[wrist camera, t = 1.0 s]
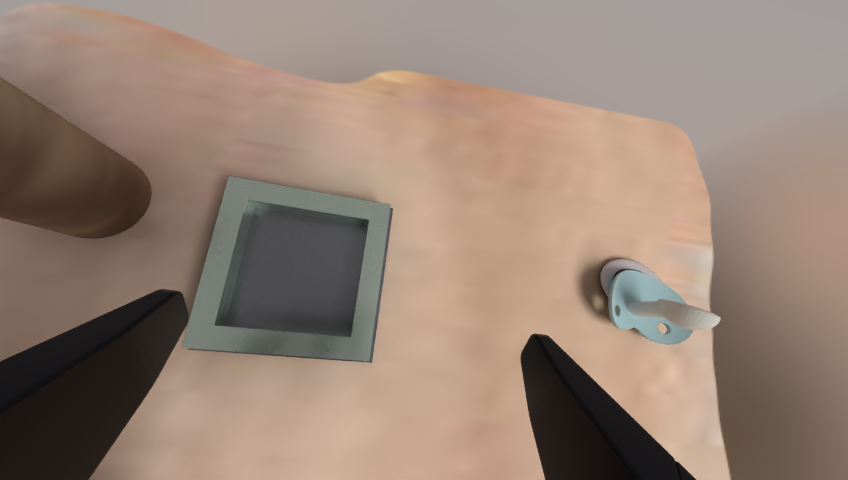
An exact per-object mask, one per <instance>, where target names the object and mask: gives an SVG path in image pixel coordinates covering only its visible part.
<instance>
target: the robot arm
mask: <svg viewBox="0 0 848 480" xmlns="http://www.w3.org/2000/svg"><path fill="white" fill-rule="evenodd" d="M187 322H188V311H187V308H186V304H185V301H184V297H183V294H182V293H181V292H179V291H175V290H166V289H160V290H157V291H155V292H152V293H150V294H148V295H146V296H144V297H141V298H139V299H137V300H135V301H133V302H130V303H128V304H126V305H124V306H122V307H119V308H117V309H115V310H113V311H111V312H108V313H106V314H104V315H102V316H100V317H97V318H95V319H93V320H91V321H89V322H86V323H84V324H82V325H80V326H78V327H75V328H73V329H71V330H69V331H67V332H64V333H62V334H60V335H58V336H56V337H53V338H51V339H49V340H47V341H45V342H42V343H40V344H38V345H36V346H34V347H31V348H29V349H27V350H25V351H22V352H20V353H18V354H16V355H14V356H11V357H9V358H7V359H5V360H3V361H0V480H89V478H90V477H91V476H92V474H93V473H94V471H95V470H96V468H97V467H98V465H99V464H100V462H101V461H102V460H103V458H104V457H105V455H106V454H107V452H108V451H109V449H110V448H111V446H112V445H113V443H114V442H115V441H116V439H117V438H118V436H119V435H120V433H121V432H122V430H123V429H124V427H125V426H126V425H127V423H128V422H129V420H130V419H131V417H132V416H133V414H134V413H135V411H136V410H137V408H138V407H139V406H140V404H141V403H142V401H143V400H144V398H145V397H146V395H147V394H148V392H149V391H150V389H151V388H152V386H153V385H154V383H155V381H156V379H157V378H158V376H159V374H160V373H161V371H162V369H163V367H164V365H165V363H166V362H167V360H168V358H169V356H170V354H171V352H172V351H173V349H174V347H175V345H176V343H177V341H178V340H179V338H180V336H181V334H182V332H183V331H184V329H185V327H186V325H187ZM521 366H522V372H523V379H524V386H525V392H526V399H527V405H528V411H529V417H530V421H531V425H532V429H533V433H534V437H535V441H536V445H537V449H538V453H539V457H540V460H541V464H542V468H543V472H544V476H545V480H696V479H695V478H694V477H693V476H692V475H691V474H690V473H689V472H688V471H687V470H686V469H685V468H684V467H683V466H682V465H681V464H680V463H679V462H677V461H675V459H674V458H673V457H672V456H671V455H670V454H669V453H668V452H667V451H666V450H665V449H664V448H663V447H662V446H661V445H660V444H659V443H658V442H657V441H656V440H655V439H654V438H653V437H652V436H651V435H650V434H649V433H648V432H647V431H646V430H645V429H644V428H643V427H642V426H640V425H639V424H638V423H637V422H636V421H635V420H634V419H633V418H632V417H631V416H630V415H629V414H628V413H627V412H626V411H625V410H624V409H623V408H622V407H621V406H620V405H619V404H618V403H617V402H616V401H615V400H614V399H613V398H612V397H611V396H610V395H609V394H608V393H607V392H606V391H605V390H604V389H602V388H601V387H600V386H599V385H598V384H597V383H596V382H595V381H594V380H593V379H592V378H591V377H590V376H589V375H588V374H587V373H586V372H585V371H584V370H583V369H582V368H581V367H580V366H579V365H578V364H577V363H576V362H575V361H574V360H573V359H572V358H571V357H570V356H569V355H568V354H567V353H566V352H564V351H563V350H562V349H561V348H560V347H559V346H558V345H557V344H556V343H555V342H554V341H553V340H552V339H551V338H550V337H549V336H547V335H542V334H532V335H531V336H530V338H529V340H528V342H527V343H526V345H525V347H524V349H523V351H522V353H521Z"/></svg>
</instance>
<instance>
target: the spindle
mask: <svg viewBox="0 0 848 480" xmlns="http://www.w3.org/2000/svg"><path fill="white" fill-rule="evenodd" d="M150 200H151V187H150V183H149V180H148V178H147V177H146V175H145V174H144V172H143V171H142V170H141V169H140V168H139V167H137V166H136V165H134V164H133V163H131V162H130V161H128V160H127V159H125V158H124V157H122V156H121V155H119V154H118V153H116V152H115V151H113V150H111V149H110V148H108V147H107V146H105V145H104V144H102V143H101V142H99V141H98V140H96V139H95V138H93V137H91V136H90V135H88V134H87V133H85V132H84V131H82V130H81V129H79V128H78V127H76V126H75V125H73V124H72V123H70V122H68V121H67V120H65V119H64V118H62V117H61V116H59V115H58V114H56V113H55V112H53V111H52V110H50V109H48V108H47V107H45V106H44V105H42V104H41V103H39V102H38V101H36V100H35V99H33V98H32V97H30V96H28V95H27V94H25V93H24V92H22V91H21V90H19V89H18V88H16V87H15V86H13V85H12V84H10V83H9V82H7V81H5V80H4V79H2V78H1V77H0V217H1V218H5V219H9V220H13V221H17V222H21V223H25V224H29V225H33V226H37V227H41V228H45V229H49V230H53V231H57V232H61V233H65V234H69V235H73V236H77V237H82V238H103V237H108V236H113V235H115V234H118V233H121V232H123V231H125V230H127V229H128V228H130V227H131V226H133V225H134V224H135V223H137V222H138V221H139V220H140V219H141V217H142V216H143V215H144V214H145V212H146V210H147V208H148V206H149V204H150Z"/></svg>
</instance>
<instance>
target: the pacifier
mask: <svg viewBox="0 0 848 480" xmlns="http://www.w3.org/2000/svg"><path fill="white" fill-rule="evenodd" d="M621 269H622V270H626V271H622V272H620V273H618V274H617V275H616V277H615V278H614V280H613V277H614V274H615V273H616V272H617V271H619V270H621ZM600 279H601V284H602V287H603V290H604V291H605V293H606V295H607V296H608V297H609V304H608V307H609V316H610V319H611V322H612V323H613V325H614V326H615V327H617V328H619V329H622V330H628V329H631V328H633V327H634V328H635V329H636V330H637V331H638V332H639V333H640V334H641V335H642V336H644V337H645V338H647V339H649V340H651V341H654V342H657V343H661V344H668V345H669V344H677V343H681V342H682V341H685V340H686V339H687V338H688V337H690V335H691V333H692V331H693V330H706V329H710V328H712V327H714V326H715V325H717V324H718V323H719V321H720V317H719V316H717V315H715V314H713V313H710V312H708V311H705V310H703V309H700V308H697V307H693V306H690V305H687V304H686V303H685V301H684V300H683V299H682V298H681V297H680V296H679V295H678V294H677V293H676V292H675V291H674V290H672V289H671V288H670V287H668V286H667V285H665V284H664V283H663V282H662V281H661V279H660V278H659V277H658V276H657V275H656V274H655V272H653V271H652V270H651V269H649V268H648V267H647V266H645V265H643V264H641V263H639V262H636V261H632V260H628V259H617V260H612V261H610V262H608V263H607V264H606V265H605V266H604V267H603V268H602V271H601V274H600ZM659 323H663V324H664V325H665V326H666V327H667V332H666V333H665V334H663V333H661V332H660V331H659V330H658V327H657V326H658V324H659Z"/></svg>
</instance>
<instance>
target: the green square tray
mask: <svg viewBox="0 0 848 480" xmlns="http://www.w3.org/2000/svg"><path fill="white" fill-rule="evenodd" d="M390 207H391V205H389V204H383V203H378V202H372V201H366V200H361V199H355V198H350V197H344V196H338V195H333V194H327V193H321V192H316V191H310V190H305V189H299V188H293V187H288V186H282V185H277V184H271V183H265V182H260V181H254V180H249V179H243V178H237V177H232V176H229V177H228V180H227V184H226V188H225V191H224V195H223V199H222V202H221V206H220V210H219V213H218V217H217V220H216V224H215V228H214V231H213V235H212V239H211V242H210V246H209V250H208V253H207V257H206V261H205V264H204V268H203V271H202V275H201V279H200V282H199V286H198V290H197V293H196V297H195V301H194V304H193V308H192V311H191V315H190V319H189V322H188V326H187V330H186V333H185V337H184V341H183V344H182V348H188V349H189V350H203V351H217V352H231V353H245V354H259V355H273V356H287V357H301V358H315V359H329V360H342V361H356V362H370V363H372V358H373V351H374V344H375V336H376V329H377V322H378V314H379V307H380V299H381V292H382V285H383V277H384V270H385V263H386V255H387V248H388V241H389V233H390V226H391V219H392V211H393V208H390Z"/></svg>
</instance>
